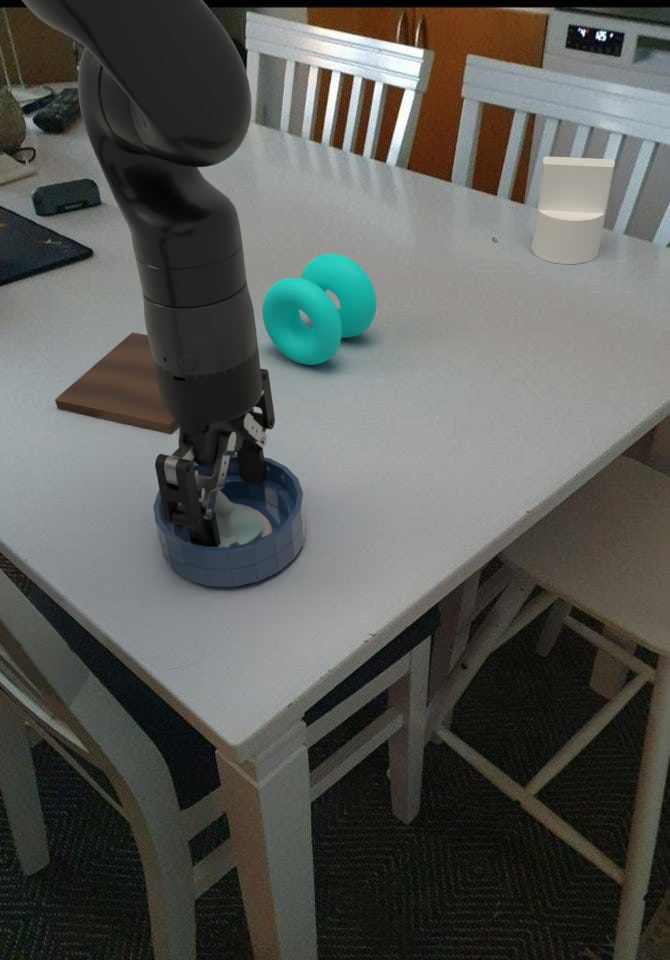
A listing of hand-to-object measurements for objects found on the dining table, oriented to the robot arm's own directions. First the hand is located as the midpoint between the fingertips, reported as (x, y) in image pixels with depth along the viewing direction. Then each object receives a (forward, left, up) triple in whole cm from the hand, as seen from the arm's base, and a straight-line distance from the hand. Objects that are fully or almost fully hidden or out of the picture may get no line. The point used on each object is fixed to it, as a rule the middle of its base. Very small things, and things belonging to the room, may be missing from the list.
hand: (231, 512), depth 68 cm
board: (+19, +20, -3) cm, 28 cm away
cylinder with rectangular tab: (+67, -17, -3) cm, 69 cm away
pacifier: (0, 0, -3) cm, 3 cm away
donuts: (+32, +5, -3) cm, 32 cm away
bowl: (0, 0, -3) cm, 3 cm away
